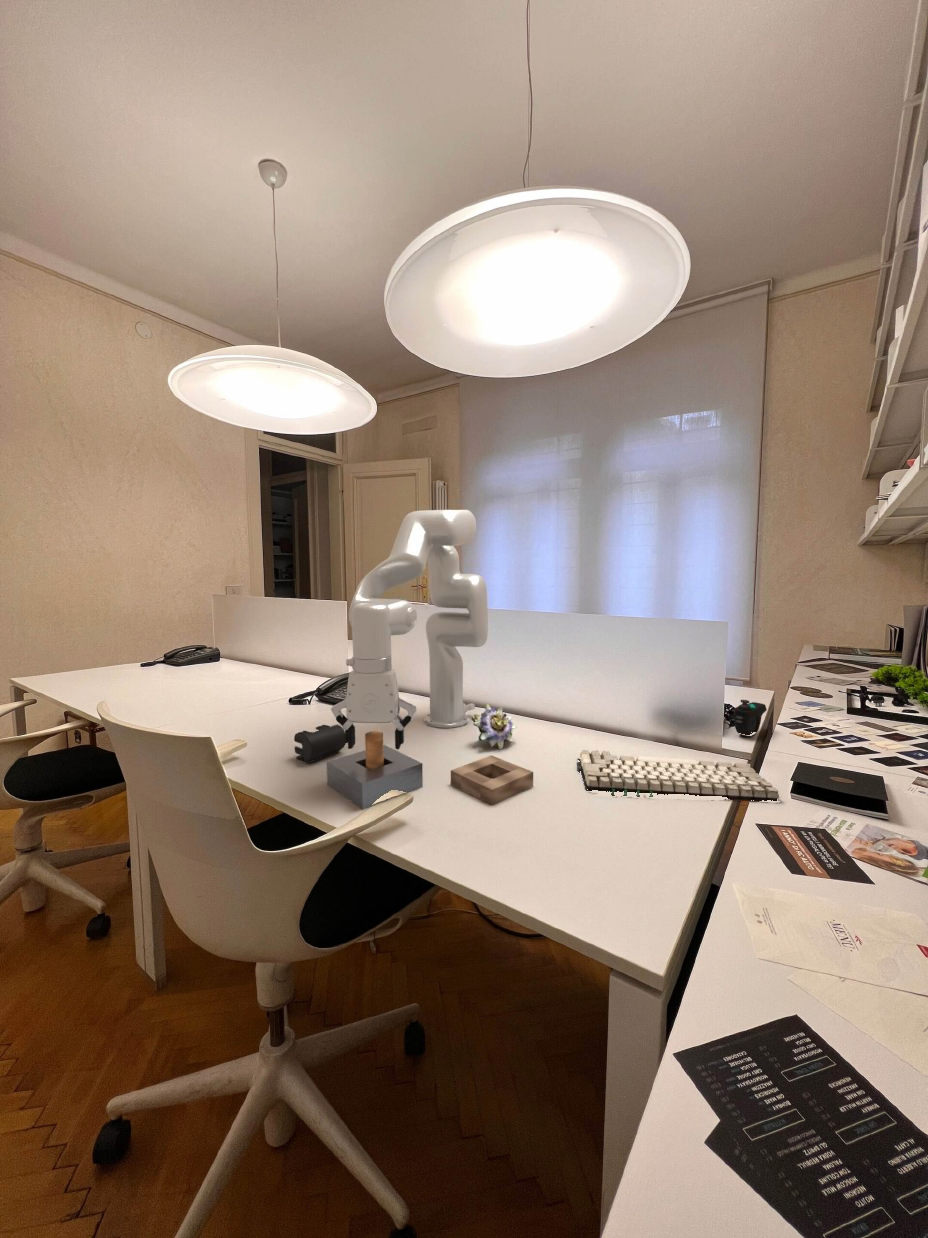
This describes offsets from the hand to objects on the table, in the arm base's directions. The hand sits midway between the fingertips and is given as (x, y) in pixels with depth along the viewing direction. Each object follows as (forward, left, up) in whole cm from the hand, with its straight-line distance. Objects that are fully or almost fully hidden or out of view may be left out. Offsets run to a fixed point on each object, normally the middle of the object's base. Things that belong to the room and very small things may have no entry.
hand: (375, 746), depth 102 cm
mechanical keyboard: (-47, +40, -9) cm, 62 cm away
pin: (0, 0, -8) cm, 8 cm away
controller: (-90, +41, -8) cm, 99 cm away
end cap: (+1, -22, -9) cm, 23 cm away
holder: (-18, +16, -8) cm, 25 cm away
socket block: (0, 0, -8) cm, 8 cm away
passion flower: (-35, -1, -8) cm, 36 cm away
